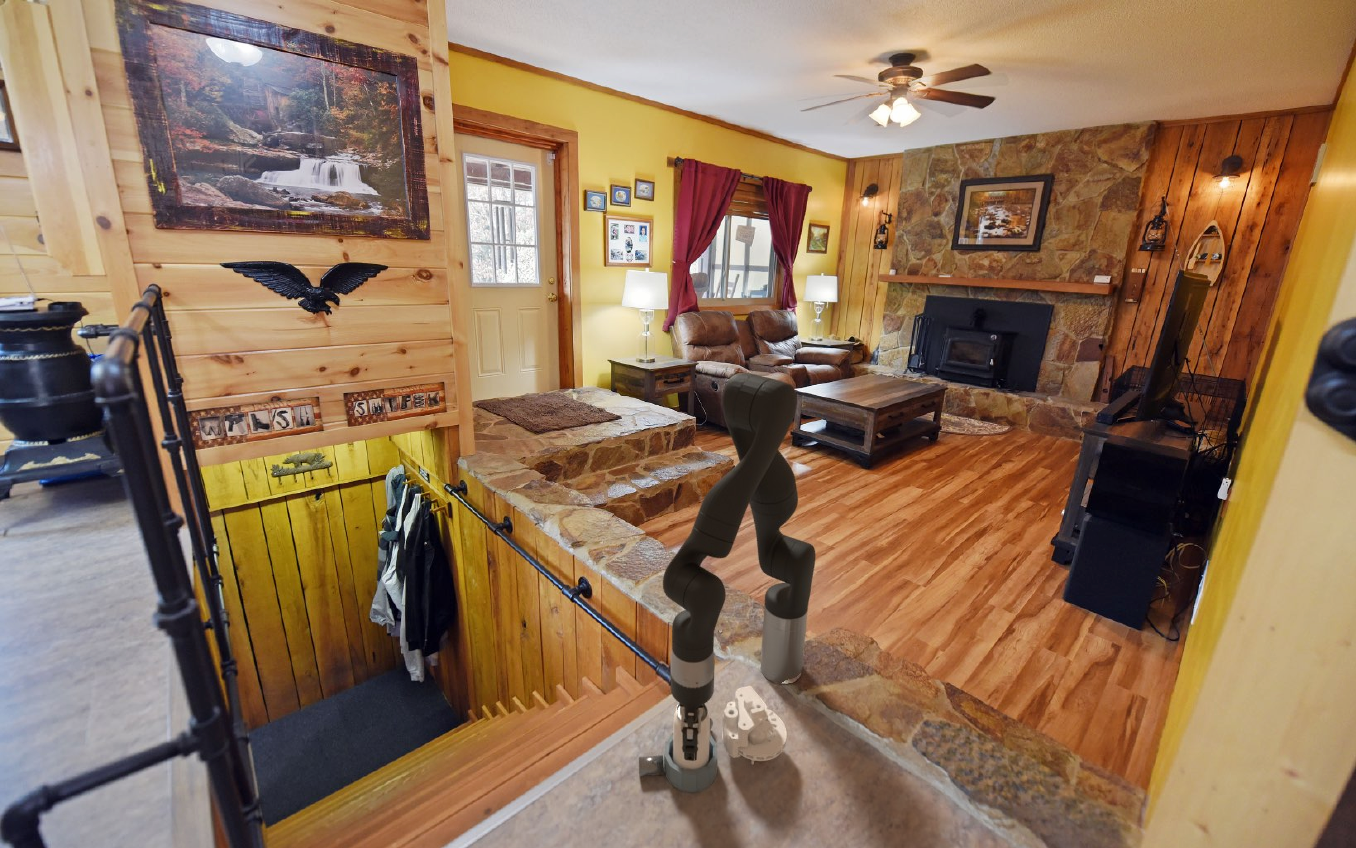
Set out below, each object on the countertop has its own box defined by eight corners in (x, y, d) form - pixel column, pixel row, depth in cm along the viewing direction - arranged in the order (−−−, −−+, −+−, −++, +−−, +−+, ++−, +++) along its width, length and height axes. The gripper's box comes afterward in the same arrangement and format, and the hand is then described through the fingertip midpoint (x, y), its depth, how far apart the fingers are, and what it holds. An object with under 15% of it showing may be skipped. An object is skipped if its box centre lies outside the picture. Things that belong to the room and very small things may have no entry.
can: (684, 740, 105) (685, 690, 102) (714, 756, 102) (716, 705, 98) (666, 767, 100) (666, 715, 96) (697, 784, 97) (699, 732, 93)
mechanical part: (789, 778, 100) (793, 729, 97) (723, 777, 101) (724, 727, 97) (779, 726, 111) (783, 679, 107) (720, 724, 111) (721, 678, 107)
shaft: (662, 763, 103) (662, 751, 102) (663, 778, 100) (663, 766, 99) (638, 765, 103) (638, 753, 102) (639, 780, 100) (639, 768, 99)
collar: (667, 743, 107) (667, 726, 106) (717, 747, 107) (717, 729, 105) (662, 791, 98) (662, 772, 97) (716, 795, 97) (717, 776, 96)
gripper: (713, 704, 88) (711, 782, 93) (715, 640, 101) (712, 712, 107) (666, 701, 88) (667, 778, 94) (674, 638, 102) (674, 709, 107)
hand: (691, 742), depth 100 cm, fingers closed on can, 5 cm apart
